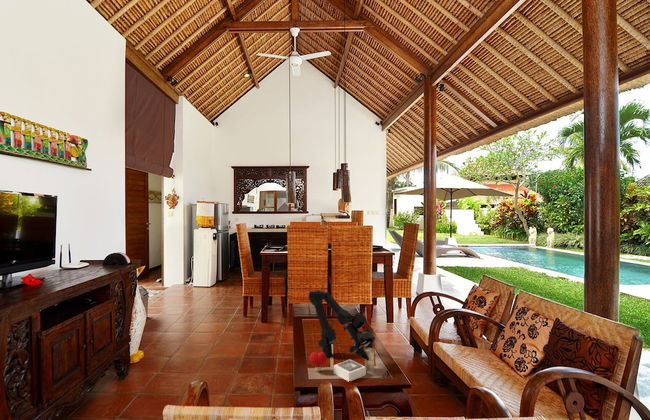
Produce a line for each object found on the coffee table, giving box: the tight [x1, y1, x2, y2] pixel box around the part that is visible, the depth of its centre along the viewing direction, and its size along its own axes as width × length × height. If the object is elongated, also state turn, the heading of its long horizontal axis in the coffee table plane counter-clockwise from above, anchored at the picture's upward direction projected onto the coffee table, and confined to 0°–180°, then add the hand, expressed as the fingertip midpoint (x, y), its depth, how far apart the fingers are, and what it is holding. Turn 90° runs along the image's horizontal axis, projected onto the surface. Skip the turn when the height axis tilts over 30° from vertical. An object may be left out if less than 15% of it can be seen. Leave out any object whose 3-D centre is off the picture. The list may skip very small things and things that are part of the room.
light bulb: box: [309, 351, 328, 373], centre depth 180 cm, size 9×7×10 cm
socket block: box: [333, 359, 367, 383], centre depth 177 cm, size 12×12×5 cm
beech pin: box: [364, 347, 375, 373], centre depth 182 cm, size 5×5×11 cm
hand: (371, 358), depth 181 cm, fingers open, 6 cm apart
